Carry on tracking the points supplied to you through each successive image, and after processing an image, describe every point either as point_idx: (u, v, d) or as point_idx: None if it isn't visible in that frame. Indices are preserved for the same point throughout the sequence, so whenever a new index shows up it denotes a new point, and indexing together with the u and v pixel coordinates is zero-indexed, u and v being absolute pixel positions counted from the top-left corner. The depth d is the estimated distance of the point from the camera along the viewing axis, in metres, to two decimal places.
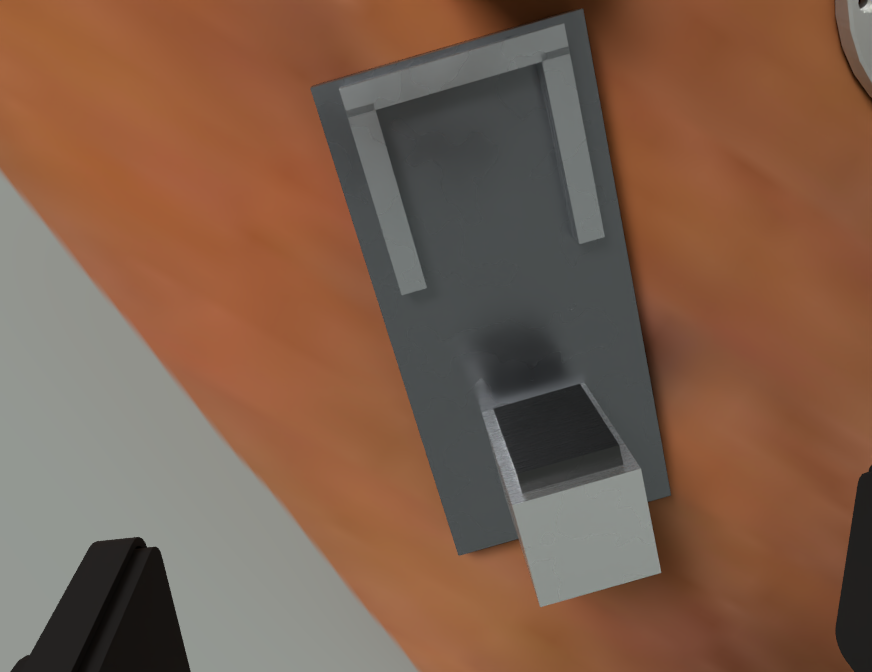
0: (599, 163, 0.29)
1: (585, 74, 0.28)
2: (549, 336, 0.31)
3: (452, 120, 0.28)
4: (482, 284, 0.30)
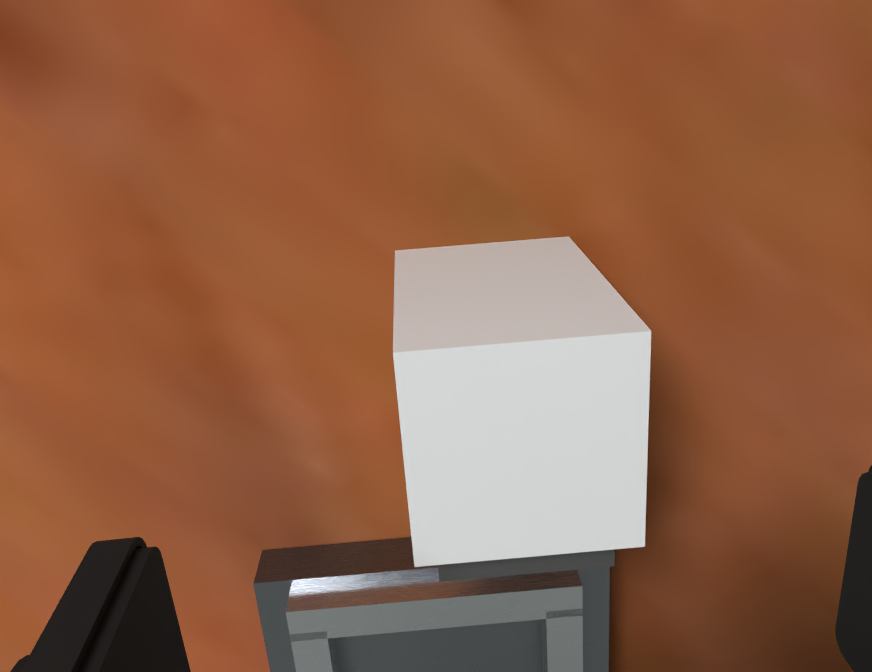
0: None
1: (597, 615, 0.22)
2: None
3: (424, 638, 0.22)
4: None
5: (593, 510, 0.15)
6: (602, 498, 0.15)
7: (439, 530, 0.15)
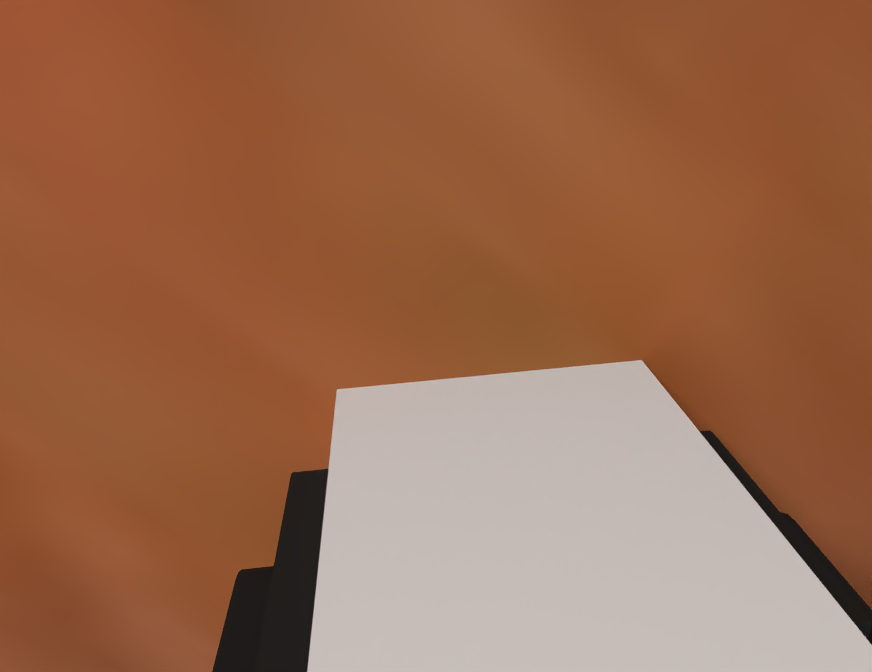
0: None
1: None
2: None
3: None
4: None
5: None
6: None
7: None
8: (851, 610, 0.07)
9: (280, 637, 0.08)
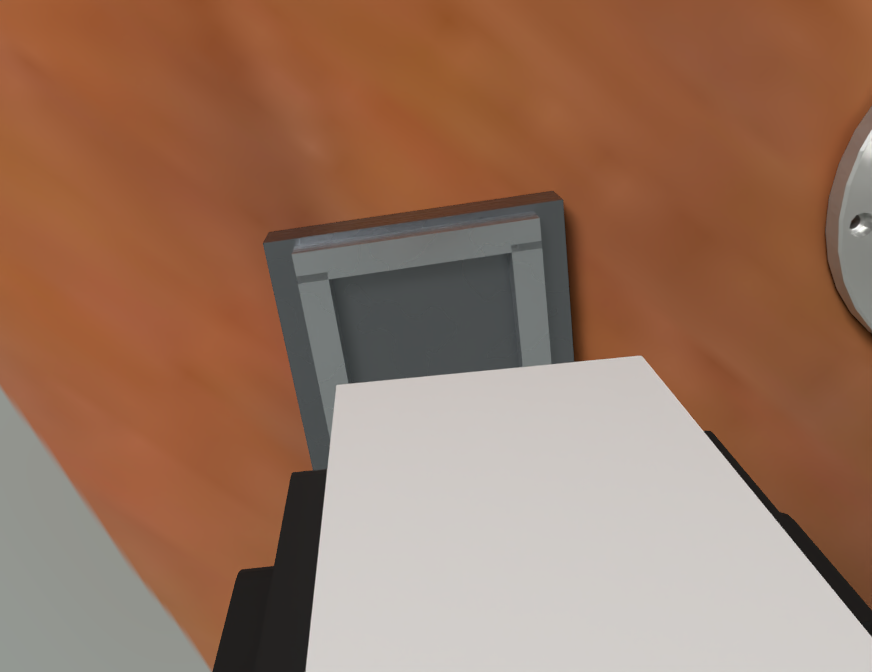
0: (561, 351, 0.28)
1: (557, 264, 0.26)
2: None
3: (411, 292, 0.26)
4: None
5: None
6: None
7: None
8: (851, 610, 0.07)
9: (280, 637, 0.08)
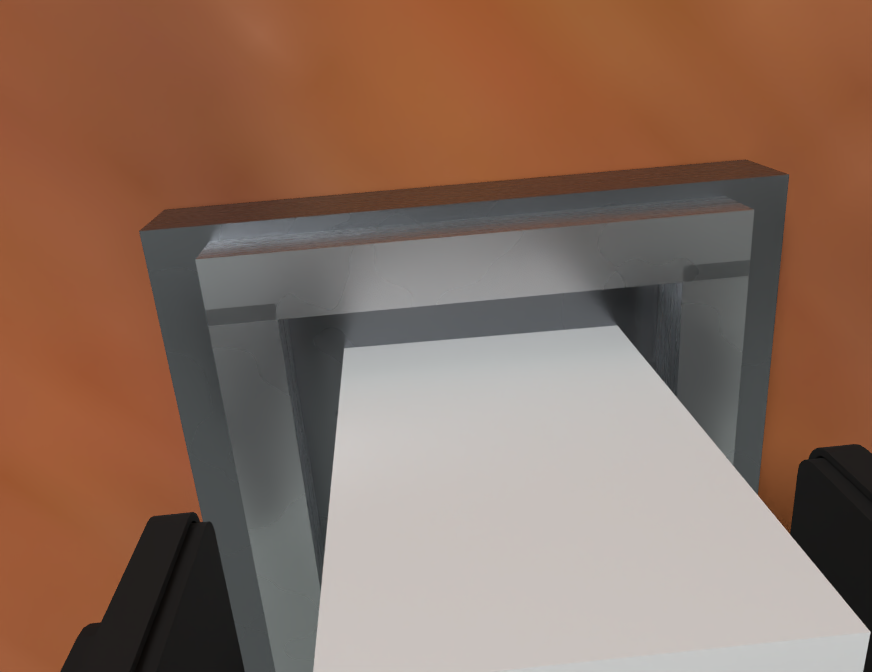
0: None
1: (756, 308, 0.13)
2: None
3: None
4: None
5: None
6: None
7: None
8: None
9: None
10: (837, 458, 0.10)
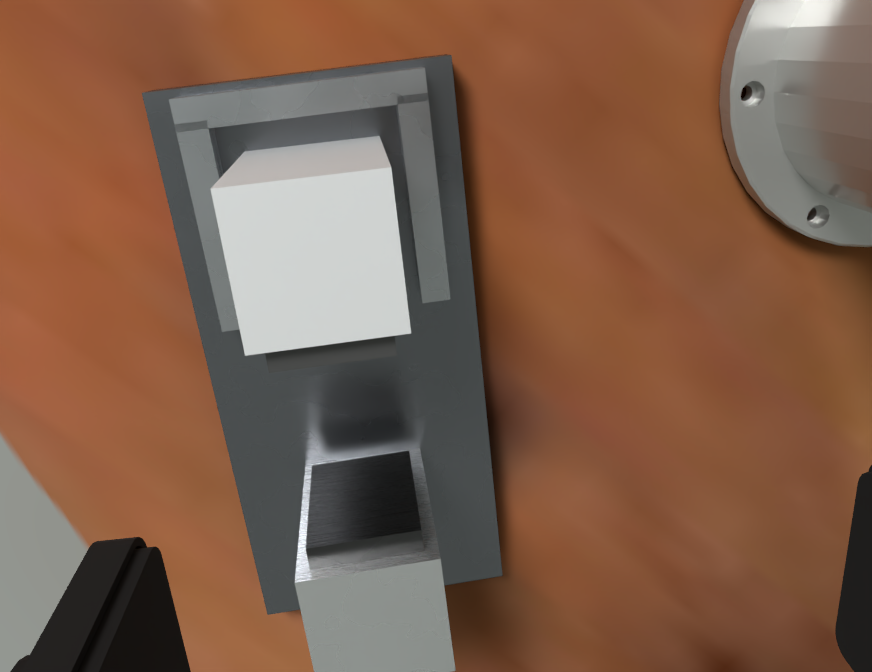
0: (455, 220, 0.27)
1: (448, 124, 0.26)
2: (385, 394, 0.29)
3: None
4: None
5: (369, 306, 0.21)
6: (375, 297, 0.20)
7: (260, 325, 0.20)
8: None
9: None
10: None
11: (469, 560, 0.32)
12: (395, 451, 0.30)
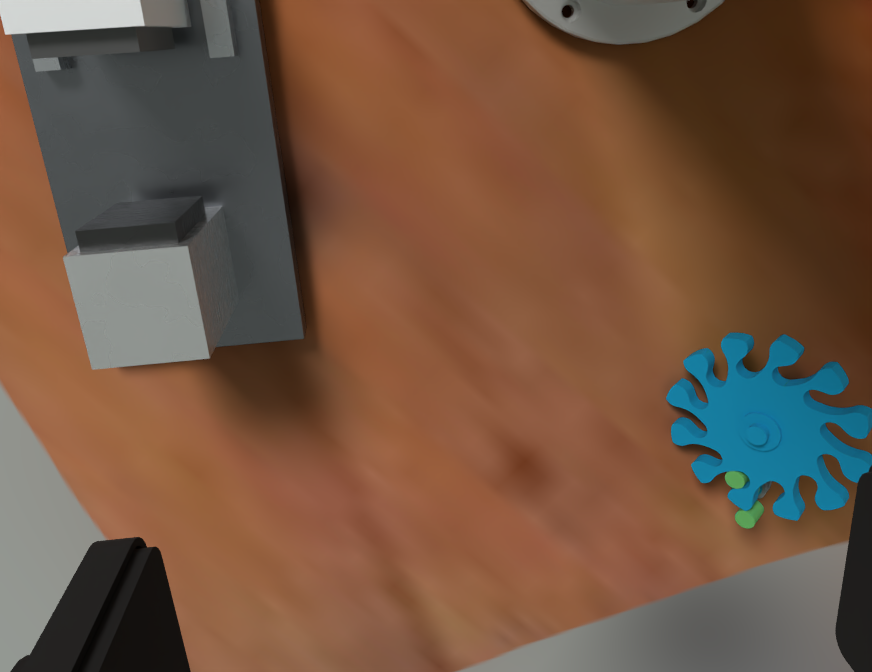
0: None
1: None
2: (189, 151, 0.34)
3: None
4: (126, 85, 0.33)
5: None
6: None
7: (15, 7, 0.25)
8: None
9: None
10: None
11: (273, 320, 0.37)
12: None
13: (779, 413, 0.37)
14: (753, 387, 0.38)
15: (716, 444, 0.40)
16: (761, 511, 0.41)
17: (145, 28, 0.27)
